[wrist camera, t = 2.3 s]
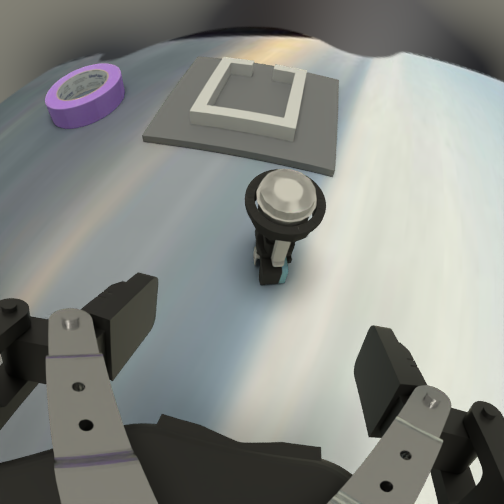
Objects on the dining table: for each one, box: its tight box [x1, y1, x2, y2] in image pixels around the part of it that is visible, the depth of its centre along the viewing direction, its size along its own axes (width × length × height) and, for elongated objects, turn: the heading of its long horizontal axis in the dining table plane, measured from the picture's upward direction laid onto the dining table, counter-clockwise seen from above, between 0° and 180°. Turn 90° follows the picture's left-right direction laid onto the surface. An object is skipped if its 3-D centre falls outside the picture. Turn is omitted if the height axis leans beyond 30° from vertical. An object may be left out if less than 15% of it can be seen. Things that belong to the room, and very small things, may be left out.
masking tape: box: [45, 64, 125, 129], centre depth 37 cm, size 12×12×4 cm
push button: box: [245, 169, 326, 285], centre depth 25 cm, size 7×5×10 cm
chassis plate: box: [142, 57, 339, 177], centre depth 38 cm, size 22×20×3 cm
